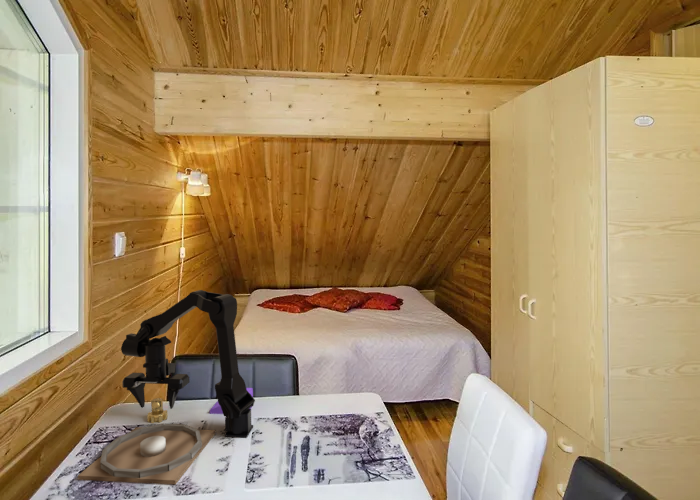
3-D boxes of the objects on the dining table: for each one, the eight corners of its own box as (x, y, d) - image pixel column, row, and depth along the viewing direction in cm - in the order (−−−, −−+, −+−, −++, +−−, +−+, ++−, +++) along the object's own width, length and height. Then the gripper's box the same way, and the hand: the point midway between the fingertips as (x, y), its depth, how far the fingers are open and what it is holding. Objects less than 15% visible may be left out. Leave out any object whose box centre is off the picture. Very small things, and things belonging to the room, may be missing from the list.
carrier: (215, 433, 125) (215, 421, 125) (175, 484, 101) (175, 470, 101) (135, 430, 127) (135, 418, 127) (78, 479, 103) (77, 465, 103)
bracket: (253, 406, 144) (252, 386, 143) (246, 415, 137) (246, 394, 136) (217, 405, 145) (217, 385, 144) (209, 414, 138) (209, 393, 137)
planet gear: (171, 415, 137) (170, 396, 136) (161, 423, 131) (161, 404, 131) (153, 414, 137) (152, 396, 137) (143, 423, 131) (142, 403, 131)
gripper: (196, 350, 140) (197, 397, 141) (141, 349, 141) (142, 396, 143) (180, 362, 129) (181, 413, 130) (120, 360, 130) (122, 411, 131)
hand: (157, 407), depth 134 cm, fingers open, 9 cm apart
